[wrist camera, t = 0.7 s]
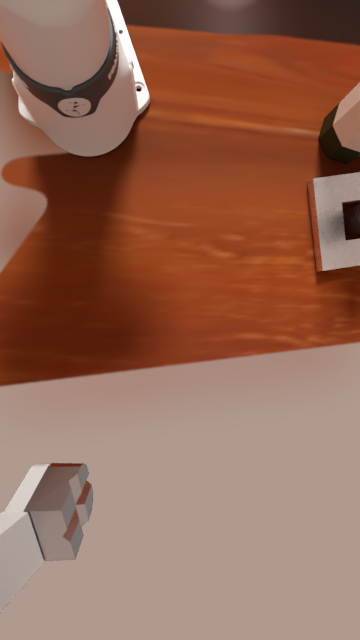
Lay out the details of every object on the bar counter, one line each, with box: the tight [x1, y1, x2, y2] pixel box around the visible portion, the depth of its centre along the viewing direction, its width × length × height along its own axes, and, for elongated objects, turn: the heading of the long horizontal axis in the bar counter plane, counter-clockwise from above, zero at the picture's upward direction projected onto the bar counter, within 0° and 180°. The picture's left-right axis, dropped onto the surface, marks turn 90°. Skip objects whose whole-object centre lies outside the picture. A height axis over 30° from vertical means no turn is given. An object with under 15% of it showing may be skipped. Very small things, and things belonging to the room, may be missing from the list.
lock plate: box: [307, 172, 360, 272], centre depth 52 cm, size 14×14×2 cm
